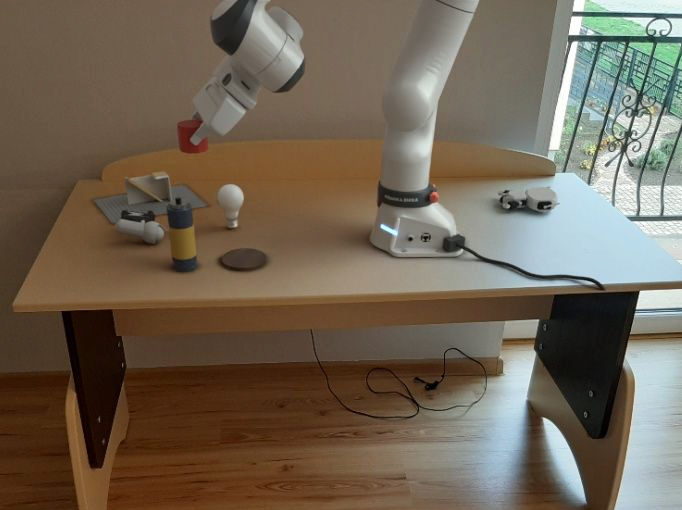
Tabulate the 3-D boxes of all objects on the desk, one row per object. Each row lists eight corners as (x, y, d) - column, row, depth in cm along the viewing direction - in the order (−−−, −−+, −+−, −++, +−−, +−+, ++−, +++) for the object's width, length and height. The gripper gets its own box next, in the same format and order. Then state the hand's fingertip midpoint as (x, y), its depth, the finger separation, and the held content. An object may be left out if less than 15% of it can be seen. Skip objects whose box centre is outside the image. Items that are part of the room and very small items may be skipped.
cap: (211, 145, 140) (209, 120, 138) (203, 154, 136) (200, 128, 133) (185, 144, 141) (182, 119, 138) (176, 152, 136) (173, 126, 133)
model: (172, 201, 182) (168, 173, 178) (132, 208, 178) (128, 179, 173) (167, 197, 185) (164, 169, 180) (128, 204, 180) (124, 175, 176)
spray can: (200, 262, 153) (194, 194, 144) (193, 273, 149) (186, 203, 140) (177, 260, 154) (169, 192, 145) (169, 271, 149) (161, 201, 141)
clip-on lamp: (195, 238, 171) (120, 223, 167) (199, 213, 168) (123, 198, 164) (191, 254, 160) (111, 239, 157) (195, 229, 157) (114, 212, 154)
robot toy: (502, 218, 181) (560, 217, 180) (503, 202, 178) (562, 200, 177) (495, 201, 191) (550, 199, 190) (497, 185, 188) (553, 183, 187)
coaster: (270, 252, 158) (270, 249, 158) (261, 272, 150) (261, 269, 149) (228, 249, 159) (227, 246, 158) (216, 269, 151) (216, 265, 150)
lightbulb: (214, 229, 168) (210, 186, 162) (229, 221, 173) (226, 178, 166) (235, 235, 165) (233, 191, 159) (250, 226, 170) (248, 183, 164)
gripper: (213, 60, 140) (170, 113, 143) (233, 83, 124) (184, 141, 127) (236, 82, 144) (194, 133, 147) (258, 107, 128) (210, 163, 131)
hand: (189, 137), depth 137 cm, fingers closed on cap, 5 cm apart
